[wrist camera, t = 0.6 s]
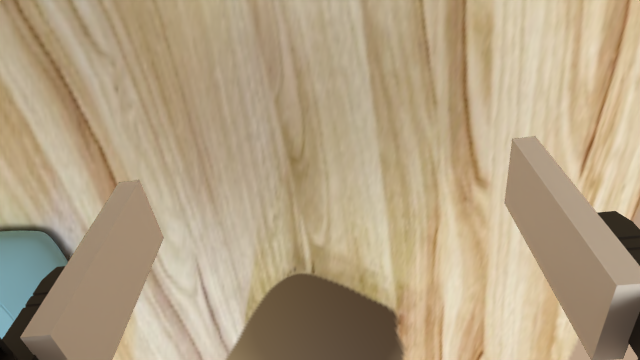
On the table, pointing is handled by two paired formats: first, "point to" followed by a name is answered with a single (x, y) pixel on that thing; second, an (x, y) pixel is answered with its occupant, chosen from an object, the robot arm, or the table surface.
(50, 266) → the teapot
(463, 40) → the table surface
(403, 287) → the table surface
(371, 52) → the table surface
